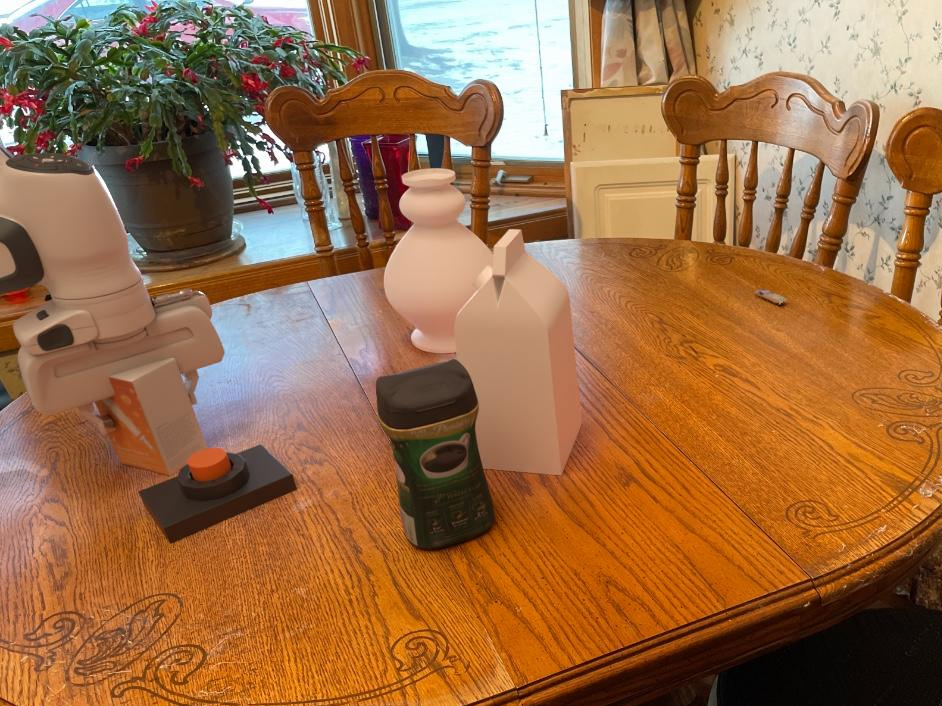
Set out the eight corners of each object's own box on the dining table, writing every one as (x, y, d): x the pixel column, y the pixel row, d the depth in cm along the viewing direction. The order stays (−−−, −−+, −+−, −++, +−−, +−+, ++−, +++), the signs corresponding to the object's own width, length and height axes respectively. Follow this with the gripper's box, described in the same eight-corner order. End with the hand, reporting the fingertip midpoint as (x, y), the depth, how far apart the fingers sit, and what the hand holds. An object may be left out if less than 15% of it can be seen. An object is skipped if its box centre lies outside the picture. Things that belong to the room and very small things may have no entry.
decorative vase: (528, 324, 127) (515, 166, 113) (464, 370, 114) (440, 197, 100) (440, 307, 134) (418, 156, 120) (370, 348, 121) (336, 184, 107)
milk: (561, 475, 91) (547, 259, 76) (467, 467, 93) (436, 255, 78) (582, 422, 101) (572, 222, 86) (496, 416, 102) (473, 219, 88)
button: (200, 487, 84) (194, 471, 83) (188, 472, 87) (182, 456, 86) (237, 472, 87) (231, 457, 85) (224, 458, 89) (218, 443, 88)
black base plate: (170, 544, 82) (157, 514, 80) (144, 506, 88) (132, 477, 85) (297, 489, 90) (288, 460, 88) (266, 458, 95) (257, 430, 93)
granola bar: (789, 304, 131) (790, 298, 130) (779, 307, 130) (780, 301, 129) (762, 292, 136) (762, 286, 135) (752, 295, 135) (752, 289, 134)
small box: (120, 465, 95) (78, 370, 88) (161, 439, 100) (125, 346, 93) (169, 478, 92) (131, 381, 85) (210, 450, 97) (176, 356, 90)
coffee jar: (479, 493, 88) (458, 344, 78) (504, 532, 82) (485, 376, 72) (394, 519, 85) (361, 366, 74) (414, 561, 79) (381, 401, 68)
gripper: (194, 277, 93) (227, 380, 101) (-6, 328, 82) (48, 439, 89) (213, 291, 89) (246, 396, 97) (6, 346, 78) (61, 461, 85)
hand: (150, 417), depth 93 cm, fingers closed on small box, 8 cm apart
